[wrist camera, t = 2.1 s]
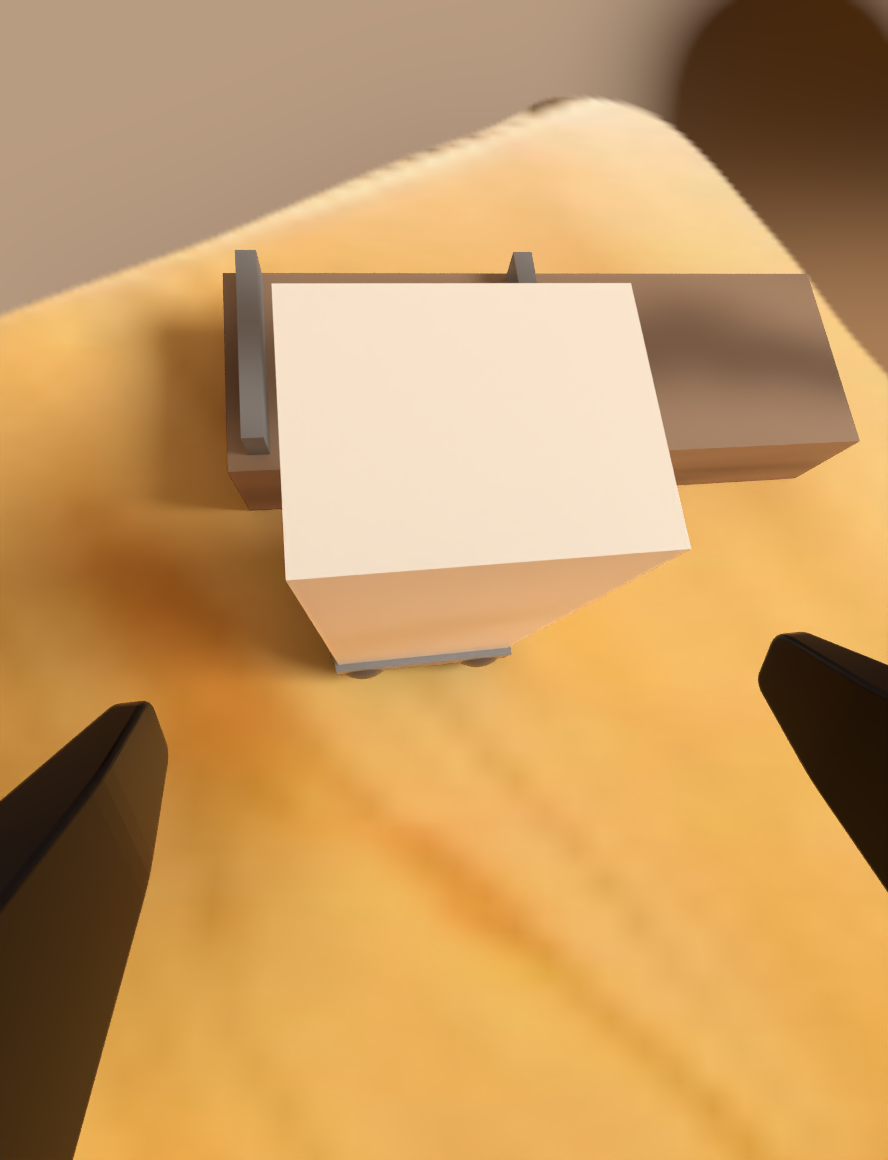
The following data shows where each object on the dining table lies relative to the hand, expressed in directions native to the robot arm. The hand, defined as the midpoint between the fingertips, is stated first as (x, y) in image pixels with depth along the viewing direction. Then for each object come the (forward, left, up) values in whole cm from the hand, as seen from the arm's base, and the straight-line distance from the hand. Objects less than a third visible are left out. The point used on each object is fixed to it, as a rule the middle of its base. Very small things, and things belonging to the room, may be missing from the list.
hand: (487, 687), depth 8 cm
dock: (+12, 0, -10) cm, 16 cm away
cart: (+3, +2, -10) cm, 11 cm away
